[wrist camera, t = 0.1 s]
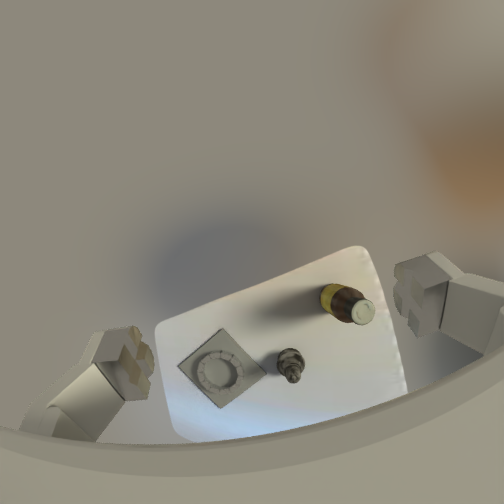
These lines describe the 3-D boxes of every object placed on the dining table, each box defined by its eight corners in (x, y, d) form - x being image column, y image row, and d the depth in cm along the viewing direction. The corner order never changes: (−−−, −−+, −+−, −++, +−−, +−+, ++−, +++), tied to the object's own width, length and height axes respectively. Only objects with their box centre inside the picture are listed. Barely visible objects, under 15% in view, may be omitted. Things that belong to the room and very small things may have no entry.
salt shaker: (275, 370, 62) (276, 393, 50) (278, 345, 62) (280, 364, 50) (301, 372, 62) (307, 394, 50) (304, 347, 62) (312, 366, 50)
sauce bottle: (318, 312, 62) (340, 334, 42) (318, 283, 62) (341, 292, 42) (347, 311, 62) (379, 331, 42) (347, 282, 62) (381, 291, 42)
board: (266, 373, 62) (266, 374, 61) (221, 407, 62) (220, 408, 62) (222, 328, 63) (222, 328, 62) (179, 365, 63) (178, 366, 62)
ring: (253, 373, 62) (252, 376, 60) (220, 398, 62) (219, 402, 60) (222, 341, 62) (220, 344, 60) (190, 367, 62) (188, 370, 60)
